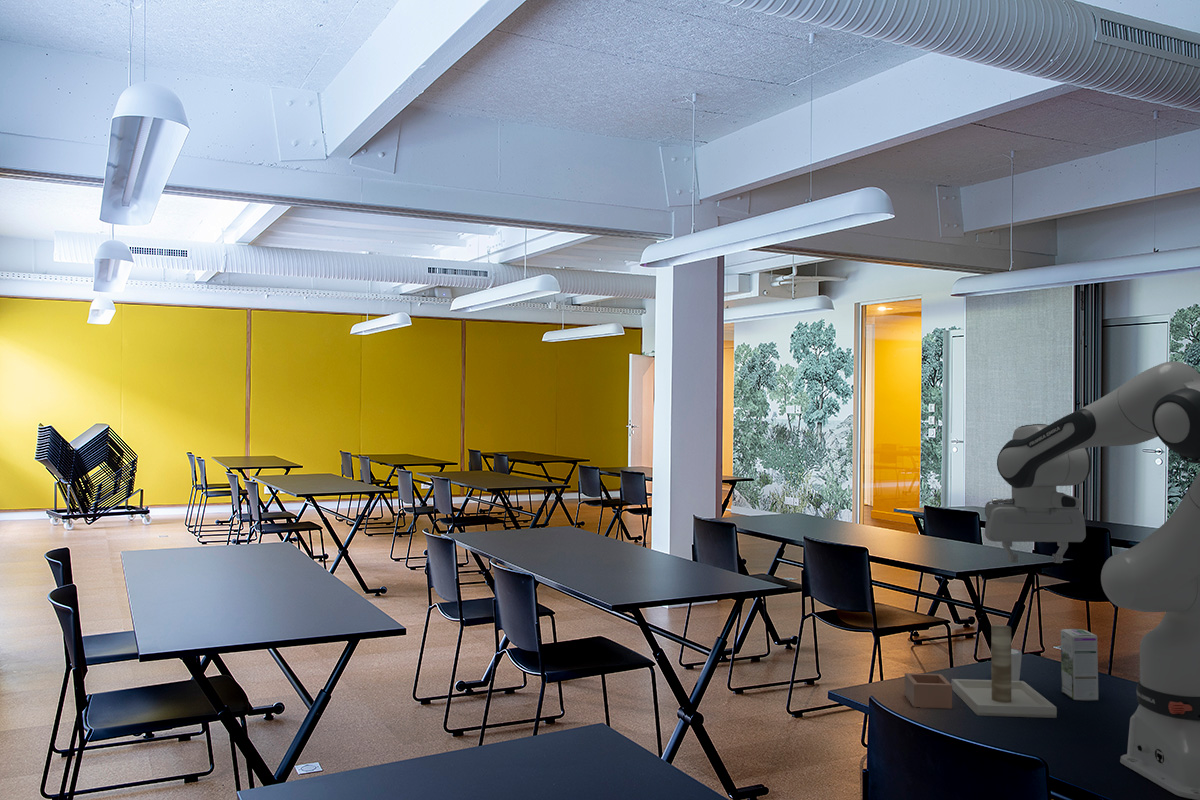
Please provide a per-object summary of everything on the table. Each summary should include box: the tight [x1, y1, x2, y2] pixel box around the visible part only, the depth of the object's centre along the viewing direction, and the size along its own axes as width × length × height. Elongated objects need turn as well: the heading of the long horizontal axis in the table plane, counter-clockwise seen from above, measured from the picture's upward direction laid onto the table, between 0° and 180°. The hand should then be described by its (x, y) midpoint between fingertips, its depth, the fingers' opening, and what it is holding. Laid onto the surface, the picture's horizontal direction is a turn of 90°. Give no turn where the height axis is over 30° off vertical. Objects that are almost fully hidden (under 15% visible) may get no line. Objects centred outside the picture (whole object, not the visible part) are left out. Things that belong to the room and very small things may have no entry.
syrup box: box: [1060, 628, 1099, 701], centre depth 201 cm, size 6×6×14 cm
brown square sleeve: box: [904, 672, 953, 710], centre depth 197 cm, size 8×8×5 cm
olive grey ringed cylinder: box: [990, 624, 1012, 703], centre depth 196 cm, size 4×4×16 cm
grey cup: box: [1011, 647, 1023, 681], centre depth 213 cm, size 7×7×7 cm
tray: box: [951, 678, 1058, 719], centre depth 196 cm, size 18×16×2 cm
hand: (1035, 562), depth 194 cm, fingers open, 8 cm apart
